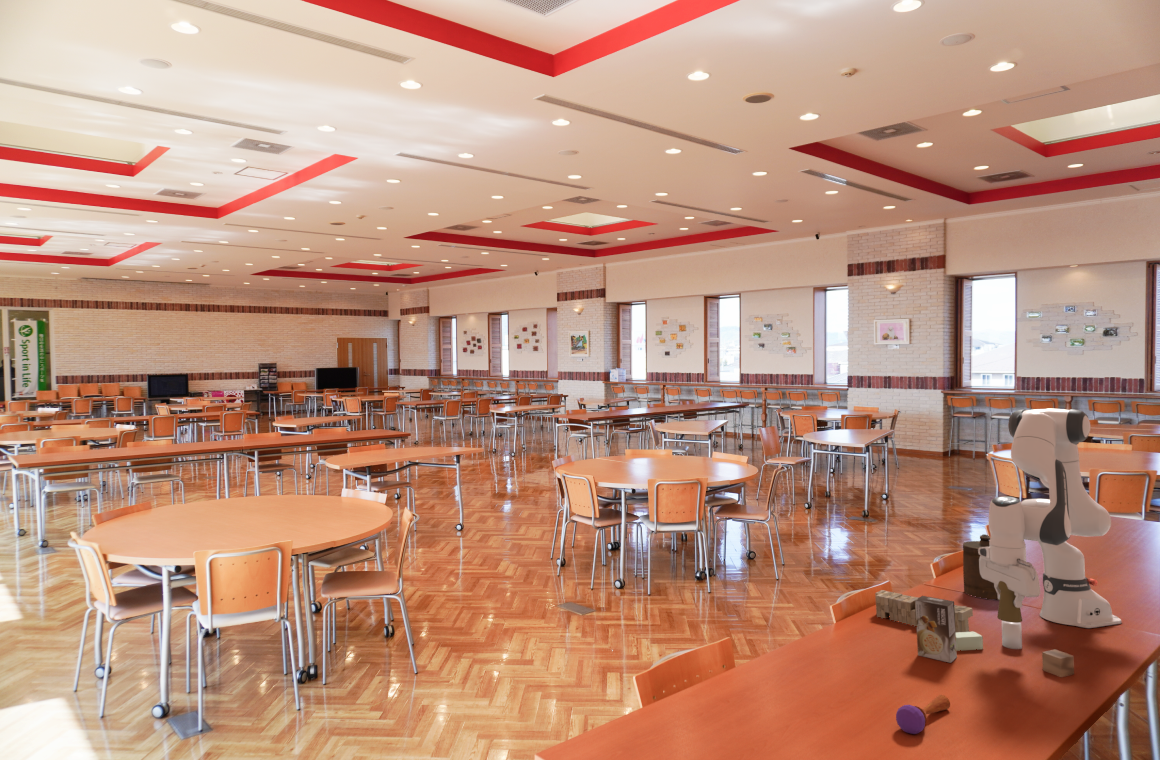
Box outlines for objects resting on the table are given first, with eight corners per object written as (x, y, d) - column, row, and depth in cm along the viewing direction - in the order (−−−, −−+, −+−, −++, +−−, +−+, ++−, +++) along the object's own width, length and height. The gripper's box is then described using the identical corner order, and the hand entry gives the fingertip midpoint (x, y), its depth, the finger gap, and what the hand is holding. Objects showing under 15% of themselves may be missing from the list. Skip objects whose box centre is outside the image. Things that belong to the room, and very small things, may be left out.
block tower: (872, 619, 234) (963, 639, 212) (871, 594, 234) (962, 611, 212) (883, 614, 239) (974, 632, 217) (882, 589, 239) (972, 605, 217)
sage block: (974, 644, 207) (973, 631, 207) (983, 649, 203) (982, 636, 203) (949, 646, 206) (948, 632, 206) (957, 651, 202) (956, 637, 202)
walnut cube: (1055, 667, 189) (1055, 649, 189) (1074, 674, 184) (1073, 655, 184) (1042, 670, 187) (1042, 652, 187) (1061, 677, 182) (1060, 658, 183)
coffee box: (957, 657, 198) (956, 601, 198) (950, 663, 193) (948, 606, 193) (924, 649, 204) (922, 594, 204) (916, 655, 200) (914, 599, 200)
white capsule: (1014, 642, 207) (1013, 619, 207) (1026, 648, 202) (1025, 624, 203) (998, 643, 207) (997, 620, 207) (1010, 649, 202) (1009, 625, 202)
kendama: (958, 696, 165) (920, 717, 152) (953, 720, 165) (914, 742, 152) (933, 684, 169) (893, 703, 157) (928, 707, 170) (889, 727, 157)
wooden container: (992, 587, 262) (990, 530, 263) (1019, 599, 248) (1017, 538, 248) (955, 589, 262) (953, 531, 262) (980, 601, 247) (978, 540, 247)
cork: (1026, 623, 192) (1025, 583, 192) (1002, 622, 193) (1001, 583, 193) (1016, 615, 198) (1015, 577, 198) (993, 614, 199) (992, 577, 199)
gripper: (1045, 563, 186) (1047, 614, 185) (994, 546, 206) (996, 592, 206) (1023, 565, 185) (1025, 616, 185) (974, 547, 205) (976, 593, 205)
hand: (1009, 603), depth 196 cm, fingers closed on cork, 5 cm apart
